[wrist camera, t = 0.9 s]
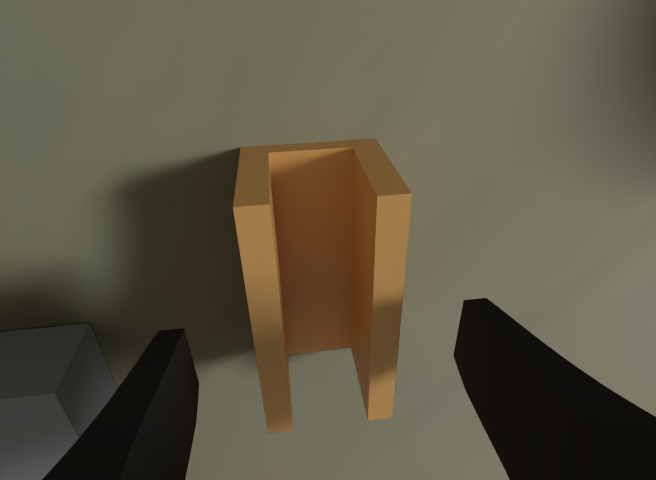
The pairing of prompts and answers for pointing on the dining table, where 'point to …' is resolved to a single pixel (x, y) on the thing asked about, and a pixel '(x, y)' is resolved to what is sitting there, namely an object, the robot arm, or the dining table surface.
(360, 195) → the chute
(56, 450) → the large grey panel
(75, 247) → the dining table surface
